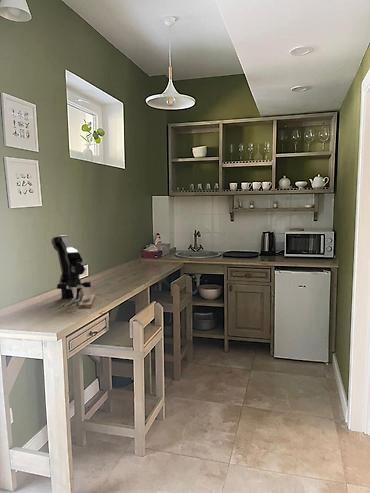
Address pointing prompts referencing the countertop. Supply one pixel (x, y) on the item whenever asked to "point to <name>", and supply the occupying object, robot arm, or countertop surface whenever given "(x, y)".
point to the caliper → (75, 298)
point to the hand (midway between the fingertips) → (75, 299)
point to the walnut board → (87, 301)
